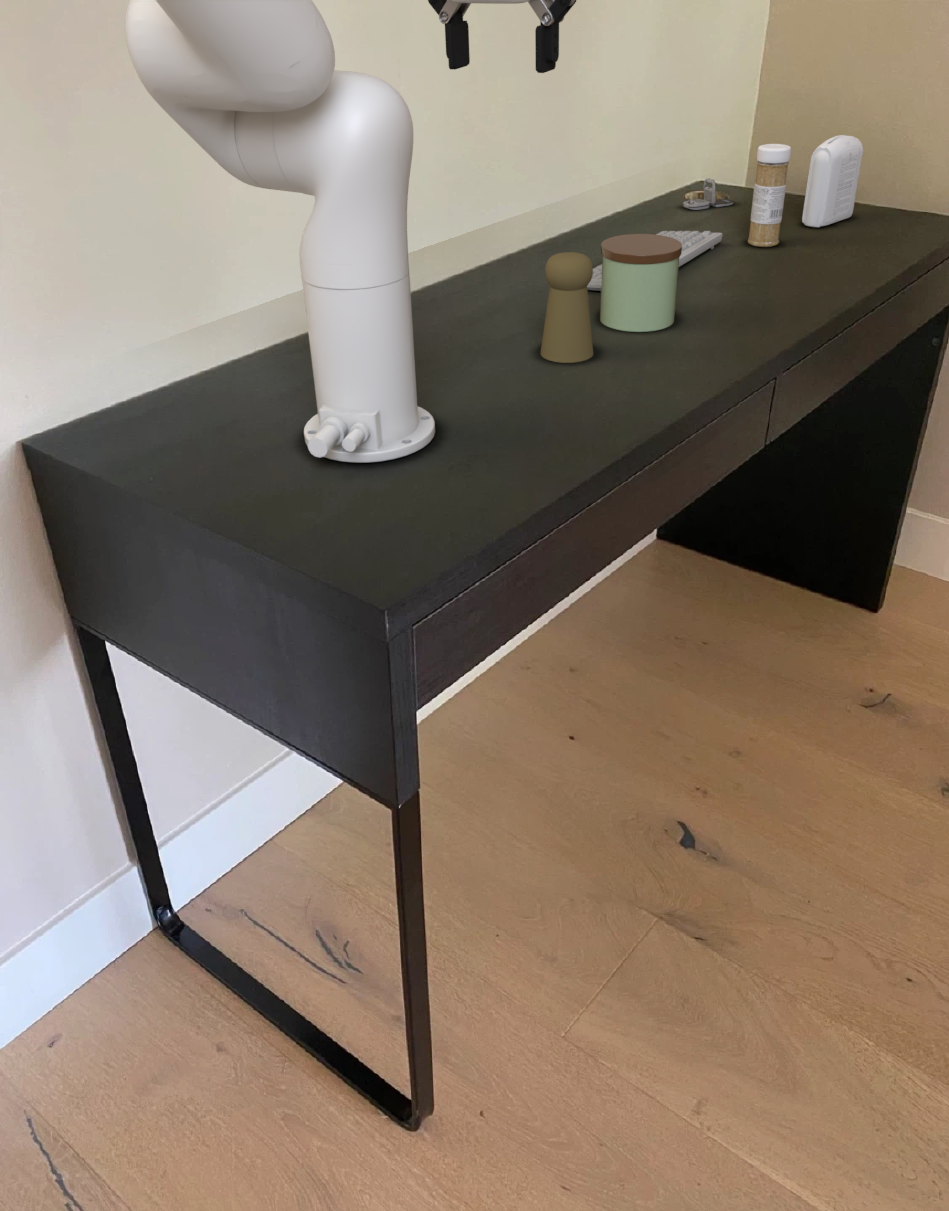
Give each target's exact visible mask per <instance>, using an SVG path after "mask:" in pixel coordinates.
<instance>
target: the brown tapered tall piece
mask: <svg viewBox="0 0 949 1211" xmlns="http://www.w3.org/2000/svg"><path fill="white" fill-rule="evenodd" d="M593 269H594V266H593V263H592V260H591V258H590V257H589V256H587V255H586V254H585V253H581V252H575V251H569V252H568V251H565V252H558V253H555V254H553V255H551V256H549V258H548V259H547V261H546V263H545V267H544V272H545V273H544V276H545V281H546V282H547V284H548V286H549V290H548V295H547V296H548V297H547V303H546V304H547V305H546V311H545V316H544V317H545V318H544V324H543V333H542V339H541V346H540V356H541V357H542V358H543V359H545V360H547V361H551V362H554V363H561V364H567V363H568V364H570V363H571V364H573V363H581V362H584V361H588V360H589V359H591V358H593V356H594V346H593V334H592V323H591V313H590V302H589V292H588V291H589V290H587V285H588V284H589V282H590V281H591V279H592V275H593Z"/></svg>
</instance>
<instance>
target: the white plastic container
mask: <svg viewBox="0 0 949 1211" xmlns="http://www.w3.org/2000/svg"><path fill="white" fill-rule="evenodd" d="M863 155H864V146H863V143H862V141H861V140H860V139H859V138H858V137H855V136H853V135H846V134H839V135H834V136H833V137H830V138H828V139H826V140H825V141H822V142H821V143H820V144H819V145H818V146H817V147H816V148H815V149H814V150H813V153H812V154H811V156H810V162H809V169H808V176H807V183H806V190H805V196H804V202H803V210H802V216H801V222H802V224H803V225H804V226H806V227H811V228H821V227H826V226H829V225H831V224H835V223H838V222H841V221H844V220H846V219H849V218H851V217H852V215H853V213H854V210H855V209H854V207H855V203H856V202H855V201H856V196H857V192H858V184H859V178H860V173H861V167H862V161H863V157H864V156H863Z"/></svg>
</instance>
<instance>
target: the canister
mask: <svg viewBox="0 0 949 1211" xmlns="http://www.w3.org/2000/svg"><path fill="white" fill-rule="evenodd" d="M681 253H682V243H681V242H680V241H678V240H676V239H674V238H671V237H667V236H662V235H656V234H652V233H628V234H627V233H626V234H619V235H615V236H612V237H608V238H606V239H605V240H603V241H602V242H601V243H600V254H601V257H602V258H601V264H602V279H601V291H600V307H599V309H600V310H599V321H600V323H601V324H602V325H603V326H605V327H608V328H610V329H613V330H618V331H622V332H630V333H646V332H647V333H649V332H656V331H660V330H664V329H667V328H669V327H671V326H672V325H673V324H674V322H675V316H676V305H677V304H676V303H677V291H678V280H679V269H680V267H679V257H680V255H681Z"/></svg>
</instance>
